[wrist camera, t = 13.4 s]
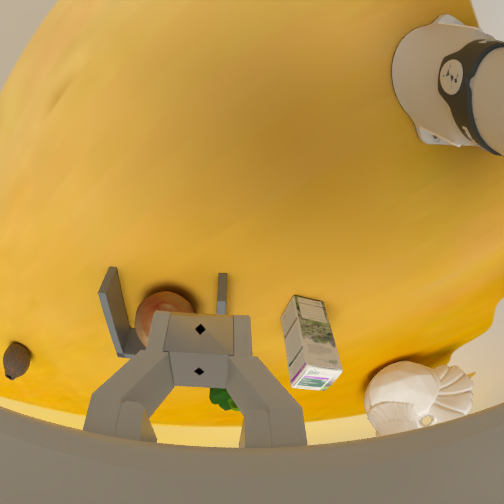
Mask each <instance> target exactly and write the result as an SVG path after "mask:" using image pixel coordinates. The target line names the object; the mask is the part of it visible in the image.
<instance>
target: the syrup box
mask: <svg viewBox="0 0 504 504" xmlns="http://www.w3.org/2000/svg"><path fill="white" fill-rule="evenodd" d="M281 322H282V328H283V334H284V340H285V347H286V354H287V362H288V369H289V377H290V383H291V387H292V388H301V389H311V390H323V391H325V390H326V389H327V388H328V387H329V386H330V385H331V384H332V383H333V382H334V381H335V380H336V379H337V378H338V376H339V375H340V374H341V373H342V372H343V371H342V366H341V362H340V359H339V355H338V352H337V348H336V344H335V341H334V337H333V334H332V330H331V327H330V323H329V320H328V317H327V313H326V310H325V306H324V303H323V302H322V301H317V300H313V299H308V298H304V297H300V296H295V295H294V296H293V297H292V299H291V300H290V302H289V304H288V306H287V307H286V309H285V311H284V313H283V314H282V316H281Z"/></svg>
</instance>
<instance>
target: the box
mask: <svg viewBox="0 0 504 504" xmlns="http://www.w3.org/2000/svg"><path fill="white" fill-rule="evenodd" d="M226 285H227V274H226V273H219V278H218V296H217V314H218V315H225V313H226ZM98 295H99V298H100V302H101V305H102V309H103V312H104V315H105V319H106V322H107V325H108V328H109V331H110V335H111V338H112V341H113V344H114V347H115V350H116V352H117V355H118V357H123V358H133V357H134V356H135V355H136V354H137V353H138V352H139V351H140V350H146V347H145V346H144V345H143V343H142V342H141V340H140V339H139V337H138V335H137V332H136V329H135V328H130V325H129V321H128V317H127V313H126V309H125V305H124V300H123V296H122V291H121V287H120V282H119V277H118V272H117V267H109V269H108V271H107V274H106V276H105V278H104V280H103V282H102V285H101V287H100V289H99V291H98Z"/></svg>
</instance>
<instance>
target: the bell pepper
mask: <svg viewBox="0 0 504 504" xmlns="http://www.w3.org/2000/svg"><path fill="white" fill-rule="evenodd" d="M209 398H210V400H211V402H212V403H213V404H219V406H220V407H221V408H223V409H224V410H229V409H232V410H235V411H240V410H239V408H238V407H237V405H236V404H235V402H234V401H233V399H232V398H231V396H230V395H229V393H228V392H227V390H226V389H224V388H210V397H209Z"/></svg>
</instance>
